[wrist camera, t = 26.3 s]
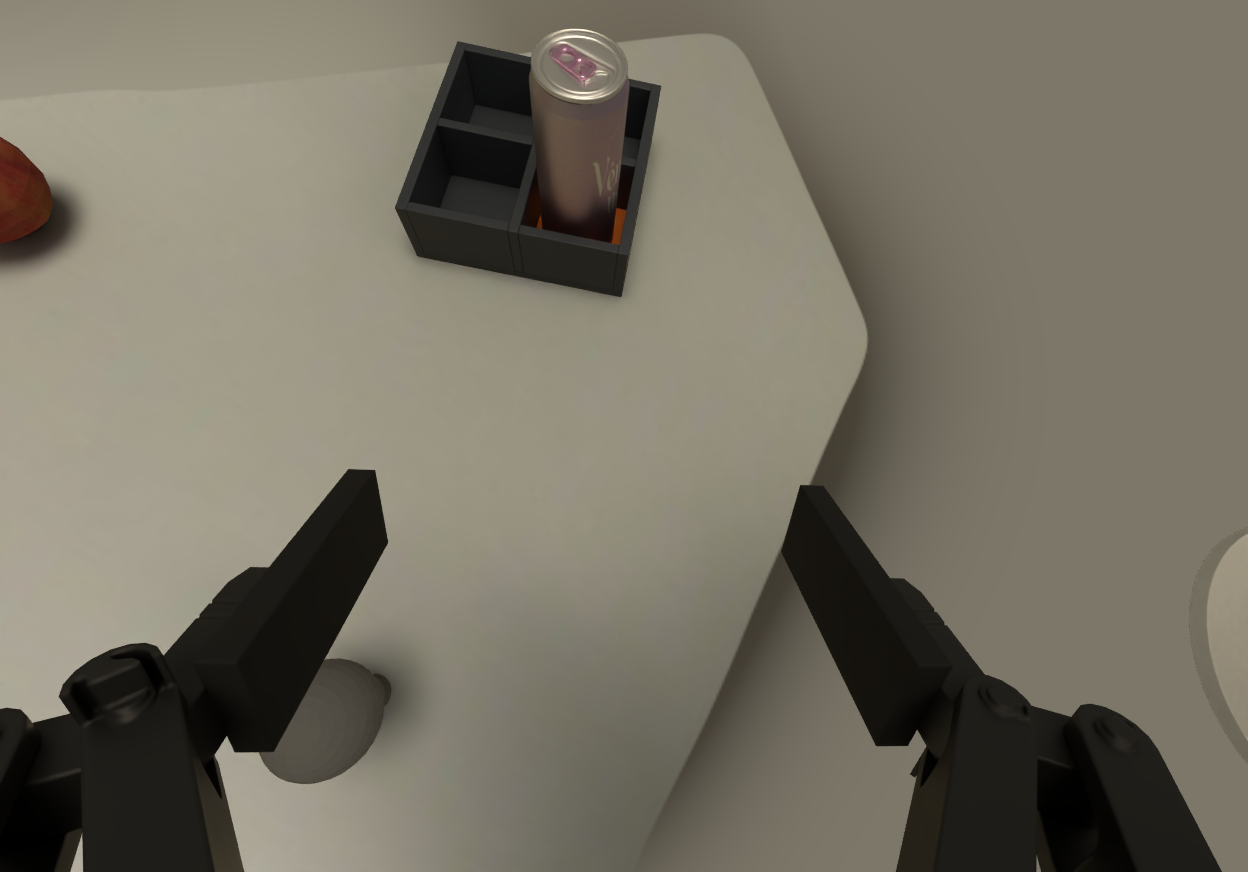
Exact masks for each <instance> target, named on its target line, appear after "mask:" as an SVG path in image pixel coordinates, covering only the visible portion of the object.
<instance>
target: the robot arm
mask: <svg viewBox="0 0 1248 872" xmlns="http://www.w3.org/2000/svg"><path fill="white" fill-rule="evenodd" d="M387 544H388V539H387V533H386V528H385V522H384V517H383V511H382V505H381V500H380V494H379V489H378V483H377V478H376V472H375V470H356V469H348V470H347V472H346V473H345V474H344V475H343V477H342V478H341V479H340V480H339V481H338V483H337V484H336V485H335V486H334V488H333V489H332V490H331V491H330V493H329V494H328V495H327V496H326V498H325V499H324V500H323V501H322V502H321V504H320V505H319V506H318V507H317V509H316V510H315V511H314V512H313V514H312V515H311V516H310V517H309V519H308V520H307V521H306V522H305V523H304V525H303V526H302V527H301V528H300V530H299V531H298V532H297V533H296V535H295V536H294V537H293V538H292V540H291V541H290V542H289V543H288V544H287V546H286V547H285V548H284V549H283V551H282V552H281V553H280V554H279V556H278V557H277V558H276V559H275V561H274V562H273V563H272V564H271V566H270V567H250V568H248V569H247V570H245V571H244V572H242V573H241V574H240V575H238V576H237V577H235V578H234V579H232V580H231V581H229V582H228V583H227V584H226V585H225V586H224V587H223V589H222V590H221V591H220V592H219V593H218V594H217V595H216V597H215V598H214V599H213V600H212V604H208V606H207V607H206V608H205V609H204V610H203V611H202V612H201V614H200V617H199V618H196V619H195V620H194V622H193V623H192V624H191V625H190V626H189V627H188V628H187V630H186V631H185V632H184V633H183V634H182V635H181V636H180V637H179V639H178V640H177V641H176V642H175V643H174V644H173V645H172V647H171V648H170V649H169V650H168V651H167V652H166V653H165V655H164V656H163V655H162V653H161V651H160V650H159V649H158V647H157V646H154V645H151V644H148V643H138V644H128V645H125V646H121V647H118V648H115V649H111V650H109V651H107V652H105V653H103V654H101V655H99V656H97V657H95V658H93V659H91V660H90V661H88V662H87V663H86V664H84V665H83V666H81V667H80V668H79V669H77V670H76V671H75V672H74V673H73V674H72V675H71V676H70V677H69V678H68V680H67V681H66V682H65V683H64V684H63V686H62V689H61V692H60V695H59V698H60V699H61V701H62V702H63V704H64V705H65V706H66V708H67V709H68V711H69V712H70V714H67V715H63V716H59V717H55V718H51V719H47V720H43V721H38V722H34V723H32V722H31V721H30V719H29V718H28V717H27V716H26V715H25V714H24V712H23V711H22V710H20V709H12V708H4V709H0V872H70V871H71V868H72V864H73V861H74V858H75V855H76V851H77V848H78V845H79V841H80V838H81V835H82V839H83V872H244V869H243V865H242V860H241V856H240V852H239V848H238V844H237V839H236V835H235V831H234V827H233V823H232V818H231V814H230V810H229V806H228V802H227V797H226V793H225V789H224V785H223V781H222V776H221V772H220V768H219V764H218V761H217V760H216V758H215V756H214V755H215V753H216V752H217V750H218V749H219V747H220V745H221V744H222V742H223V741H224V739H225V738H226V736H227V737H228V739H229V741H230V743H231V745H232V747H233V749H234V752H274V751H275V749H276V747H277V746H278V744H279V742H280V740H281V738H282V736H283V735H284V733H285V731H286V729H287V727H288V725H289V724H290V722H291V720H292V718H293V716H294V714H295V713H296V711H297V709H298V707H299V705H300V703H301V702H302V700H303V698H304V696H305V694H306V692H307V691H308V689H309V687H310V685H311V683H312V681H313V680H314V678H315V676H316V674H317V672H318V670H319V669H320V667H321V665H322V663H323V661H324V659H325V658H326V656H327V654H328V652H329V650H330V648H331V647H332V645H333V643H334V641H335V639H336V637H337V636H338V634H339V632H340V630H341V628H342V626H343V625H344V623H345V621H346V619H347V617H348V615H349V614H350V612H351V610H352V608H353V606H354V604H355V603H356V601H357V599H358V597H359V595H360V593H361V592H362V590H363V588H364V586H365V584H366V582H367V580H368V579H369V577H370V575H371V573H372V571H373V569H374V568H375V566H376V564H377V562H378V560H379V558H380V557H381V555H382V553H383V551H384V549H385V547H386V546H387ZM781 552H782V554H783V557H784V558H785V561H786V563H787V565H788V567H789V569H790V571H791V573H792V575H793V577H794V579H795V581H796V583H797V585H798V587H799V589H800V591H801V593H802V595H803V597H804V600H805V602H806V604H807V606H808V608H809V609H810V612H811V614H812V616H813V618H814V620H815V622H816V624H817V626H818V628H819V630H820V632H821V634H822V636H823V638H824V640H825V642H826V644H827V646H828V649H829V651H830V653H831V654H832V657H833V659H834V661H835V663H836V665H837V667H838V669H839V671H840V673H841V675H842V677H843V679H844V681H845V683H846V685H847V687H848V689H849V692H850V694H851V695H852V698H853V700H854V701H855V704H856V706H857V708H858V710H859V712H860V714H861V716H862V718H863V720H864V722H865V724H866V726H867V728H868V730H869V733H870V735H871V736H872V739H873V741H874V743H875V745H876V746H908V745H909V743H910V741H911V739H912V738H913V736H914V734H915V732H916V730H918V732H919V733H920V735H921V737H922V739H923V740H924V742H925V744H926V746H927V747H926V748H925V750H924V752H923V754H922V755H921V757H920V758H919V760H918V762H917V763H916V765H915V767H914V768H913V770H912V772H911V774H910V775H912V776H914V777H916V776H917V778H916V783H915V787H914V792H913V796H912V801H911V806H910V810H909V815H908V819H907V824H906V828H905V833H904V837H903V842H902V846H901V851H900V856H899V860H898V865H897V870H896V872H1036V854H1037V857H1038V861H1039V865H1040V868H1041V872H1222V871H1221V869H1220V867H1219V865H1218V864H1217V862H1216V860H1215V858H1214V856H1213V854H1212V852H1211V850H1210V848H1209V846H1208V844H1207V842H1206V840H1205V839H1204V837H1203V835H1202V833H1201V831H1200V829H1199V827H1198V825H1197V823H1196V821H1195V819H1194V818H1193V816H1192V814H1191V812H1190V810H1189V808H1188V806H1187V804H1186V802H1185V800H1184V798H1183V797H1182V794H1181V793H1180V791H1179V789H1178V787H1177V785H1176V783H1175V781H1174V779H1173V777H1172V775H1171V773H1170V772H1169V770H1168V768H1167V766H1166V764H1165V762H1164V760H1163V758H1162V756H1161V754H1160V753H1159V751H1158V749H1157V747H1156V746H1155V745H1154V743H1153V742H1152V740H1151V739H1150V738H1149V736H1148V735H1147V734H1145V733H1144V732H1143V731H1142V730H1141V729H1140V728H1139V727H1138V726H1137V725H1136V724H1134V723H1133V722H1131V721H1130V720H1128V719H1127V718H1125V717H1124V716H1122V715H1121V714H1119V713H1117V712H1115V711H1112V710H1110V709H1108V708H1106V707H1103V706H1098V705H1094V704H1085V705H1081V706H1080V707H1079V708H1078V709H1077V710H1076V712H1075V713H1074V714H1073V715H1072V717H1069V716H1066V715H1062V714H1059V713H1055V712H1052V711H1048V710H1045V709H1041V708H1037V707H1034V706H1031V705H1030V703H1029V702H1028V701H1027V699H1026V698H1025V697H1024V696H1023V695H1021V694H1020V693H1019V692H1018V691H1017V690H1016V689H1015V688H1013V687H1011V686H1010V685H1008V684H1007V683H1005V682H1003V681H1002V680H999V679H997V678H994V677H991V676H988V675H985V674H984V673H983V672H982V670H981V669H980V668H979V667H978V665H977V664H976V663H975V661H974V660H973V659H972V658H971V656H970V655H969V653H968V652H967V651H966V650H965V648H964V647H963V646H962V644H961V643H960V642H959V641H958V639H957V638H956V637H955V635H954V634H953V633H952V631H951V630H950V629H949V628H948V626H945V625H944V621H943V620H942V619H941V617H940V616H939V615H938V613H937V612H934V608H933V607H932V606H931V604H930V603H929V602H928V600H927V599H926V598H925V596H923V594H922V593H921V592H920V591H919V590H917V589H916V588H915V587H913V586H912V585H911V584H910V583H909V582H907V581H906V580H905V579H898V578H897V579H895V578H889V576H888V575H887V574H886V572H885V571H884V569H883V568H882V567H881V565H880V564H879V562H878V561H877V560H876V558H875V557H874V556H873V554H872V553H871V551H870V550H869V549H868V547H867V546H866V544H865V543H864V542H863V540H862V539H861V538H860V536H859V535H858V534H857V532H856V531H855V529H854V528H853V526H852V525H851V524H850V522H849V521H848V520H847V518H846V517H845V515H844V514H843V513H842V511H841V510H840V508H839V507H838V506H837V504H836V503H835V502H834V500H833V499H832V497H831V496H830V495H829V493H828V492H827V490H826V489H825V488H824V487H823V486H811V485H800V488H799V491H798V495H797V498H796V502H795V505H794V509H793V512H792V516H791V519H790V523H789V526H788V530H787V533H786V537H785V540H784V544H783V547H782V551H781Z"/></svg>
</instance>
